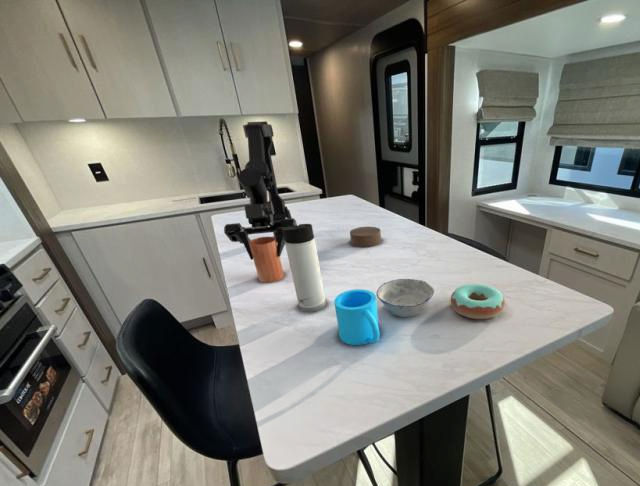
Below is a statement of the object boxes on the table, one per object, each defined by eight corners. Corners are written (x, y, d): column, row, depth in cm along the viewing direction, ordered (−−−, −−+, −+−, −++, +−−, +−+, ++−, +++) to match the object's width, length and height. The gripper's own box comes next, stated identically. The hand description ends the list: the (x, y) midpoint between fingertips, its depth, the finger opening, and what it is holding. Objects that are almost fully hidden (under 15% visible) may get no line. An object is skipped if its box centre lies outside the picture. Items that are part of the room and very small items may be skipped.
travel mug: (302, 315, 73) (284, 230, 63) (296, 303, 78) (278, 222, 68) (329, 308, 76) (315, 225, 66) (321, 296, 81) (307, 218, 71)
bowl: (391, 291, 82) (390, 274, 79) (439, 299, 77) (440, 281, 75) (368, 317, 71) (366, 298, 69) (423, 328, 67) (423, 308, 65)
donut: (447, 296, 79) (448, 281, 77) (496, 295, 78) (498, 280, 76) (453, 323, 68) (454, 307, 66) (509, 322, 68) (512, 306, 66)
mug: (333, 331, 67) (327, 297, 63) (366, 318, 71) (363, 285, 67) (360, 360, 59) (355, 324, 55) (396, 344, 63) (395, 308, 59)
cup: (262, 273, 95) (252, 237, 89) (285, 271, 95) (277, 235, 90) (256, 283, 89) (245, 245, 83) (281, 281, 89) (272, 244, 84)
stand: (351, 238, 120) (350, 227, 118) (380, 236, 121) (379, 225, 119) (350, 248, 111) (349, 237, 109) (382, 245, 112) (381, 234, 110)
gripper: (214, 193, 82) (216, 248, 78) (289, 188, 86) (294, 240, 82) (230, 216, 93) (233, 265, 89) (296, 210, 96) (301, 258, 92)
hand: (265, 257), depth 88 cm, fingers closed on cup, 7 cm apart
